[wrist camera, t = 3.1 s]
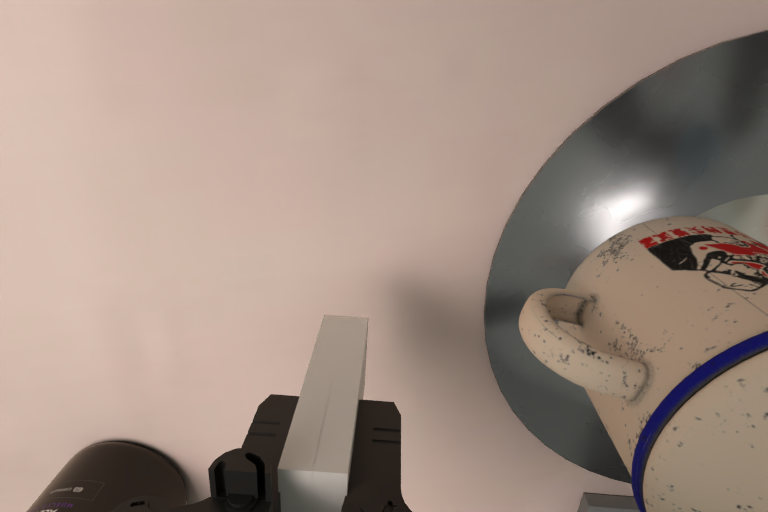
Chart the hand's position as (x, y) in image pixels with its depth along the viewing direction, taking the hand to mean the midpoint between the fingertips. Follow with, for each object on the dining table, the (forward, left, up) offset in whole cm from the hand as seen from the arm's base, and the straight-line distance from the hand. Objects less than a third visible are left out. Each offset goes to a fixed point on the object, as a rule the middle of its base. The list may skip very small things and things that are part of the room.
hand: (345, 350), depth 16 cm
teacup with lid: (0, +12, -5) cm, 13 cm away
